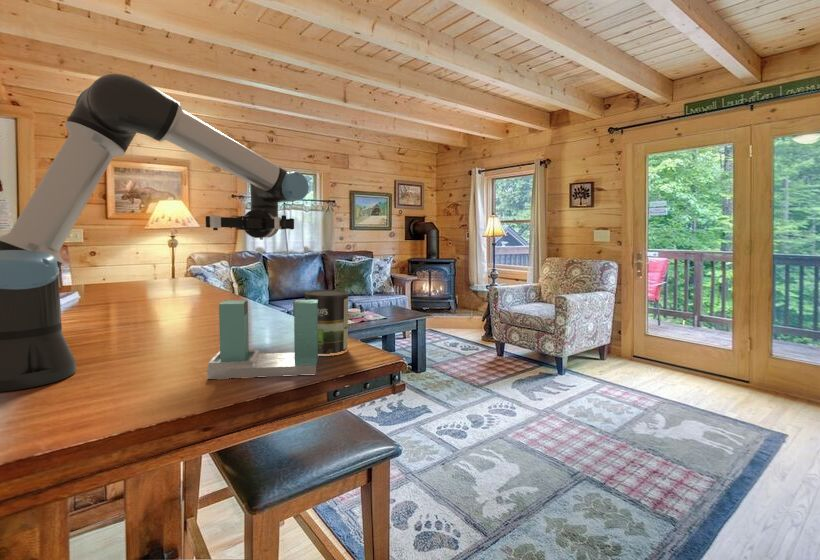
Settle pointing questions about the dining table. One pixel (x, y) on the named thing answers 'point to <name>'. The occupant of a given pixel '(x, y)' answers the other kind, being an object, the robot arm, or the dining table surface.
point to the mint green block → (234, 330)
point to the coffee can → (331, 319)
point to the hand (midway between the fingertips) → (244, 222)
